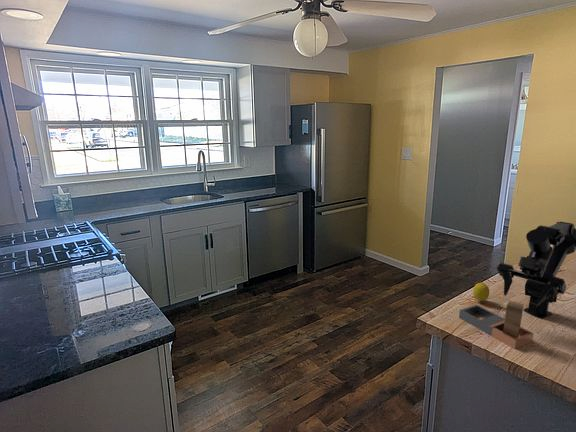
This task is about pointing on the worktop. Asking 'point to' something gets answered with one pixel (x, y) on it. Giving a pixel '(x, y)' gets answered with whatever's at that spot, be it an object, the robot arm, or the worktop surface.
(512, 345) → the rail
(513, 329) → the peg
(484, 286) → the lemon
